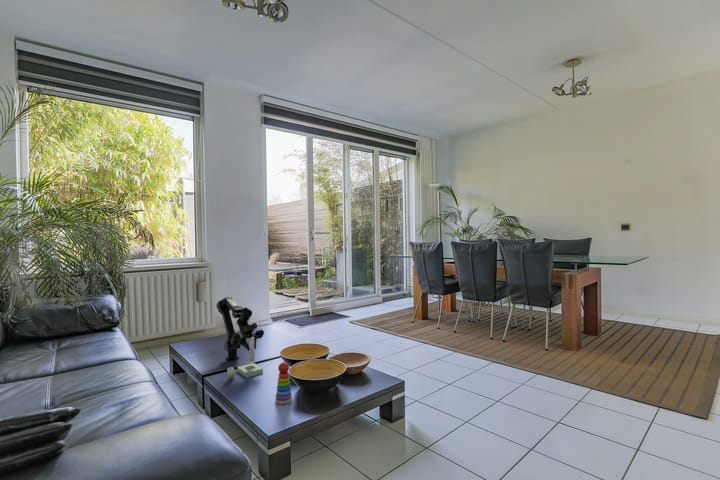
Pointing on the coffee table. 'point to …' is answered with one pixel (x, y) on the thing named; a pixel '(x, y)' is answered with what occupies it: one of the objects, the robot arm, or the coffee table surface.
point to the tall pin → (251, 349)
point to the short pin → (230, 373)
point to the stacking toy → (283, 385)
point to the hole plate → (250, 370)
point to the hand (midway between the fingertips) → (252, 349)
